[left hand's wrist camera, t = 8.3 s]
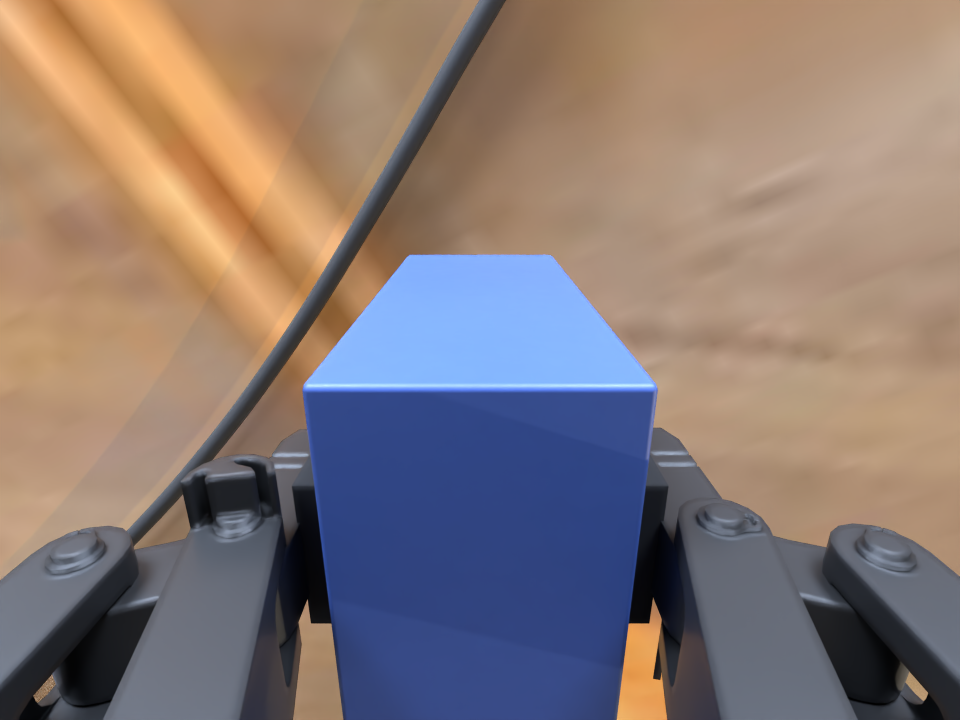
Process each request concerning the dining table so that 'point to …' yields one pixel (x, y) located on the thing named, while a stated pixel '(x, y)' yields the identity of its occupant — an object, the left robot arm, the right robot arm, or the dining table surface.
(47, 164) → the dining table surface
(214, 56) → the dining table surface
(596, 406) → the block
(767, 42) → the dining table surface
